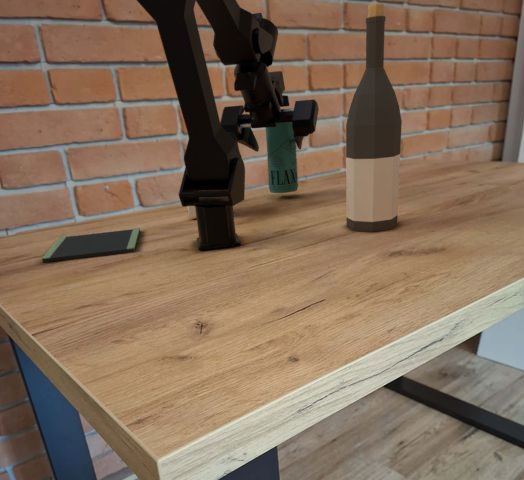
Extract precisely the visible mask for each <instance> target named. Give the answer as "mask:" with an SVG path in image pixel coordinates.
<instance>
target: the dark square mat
mask: <svg viewBox="0 0 524 480" xmlns="http://www.w3.org/2000/svg"><path fill="white" fill-rule="evenodd" d="M140 234H141V227H137V228H132V229H123V230H115V231H107V232H96V233H88V234H78V235H69V236H66V235H65V236H60V237H59V238H58V239H57V240H56V241H55V242H54V244H53V245H51V247H50V248H49V250H47V252H46V253H45V254H44V255H43V256H42V258H41V260H42V263H51V262H59V261H67V260H68V261H69V260H77V259H78V260H79V259H85V258H86V259H87V258H95V257H103V256H110V255H111V256H112V255H121V254H128V253H129V254H130V253H135V252H136V249H137V246H138V242H139V238H140Z"/></svg>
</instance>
